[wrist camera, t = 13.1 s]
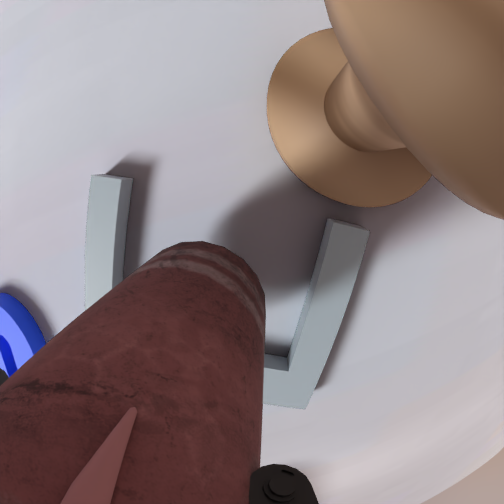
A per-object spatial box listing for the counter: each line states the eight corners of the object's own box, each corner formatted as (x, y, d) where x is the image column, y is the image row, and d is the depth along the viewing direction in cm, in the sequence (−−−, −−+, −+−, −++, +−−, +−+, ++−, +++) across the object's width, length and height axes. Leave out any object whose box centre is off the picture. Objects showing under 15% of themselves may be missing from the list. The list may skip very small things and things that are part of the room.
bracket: (79, 445, 23) (46, 500, 15) (26, 417, 23) (-10, 462, 15) (40, 305, 19) (-36, 361, 10) (-16, 283, 19) (-82, 320, 10)
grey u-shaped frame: (104, 174, 16) (91, 175, 14) (361, 226, 16) (370, 231, 14) (98, 345, 19) (88, 356, 17) (303, 395, 19) (305, 409, 17)
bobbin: (285, 18, 13) (303, -150, 1) (441, 72, 13) (584, 13, 1) (249, 180, 15) (191, 203, 4) (417, 224, 15) (585, 307, 4)
